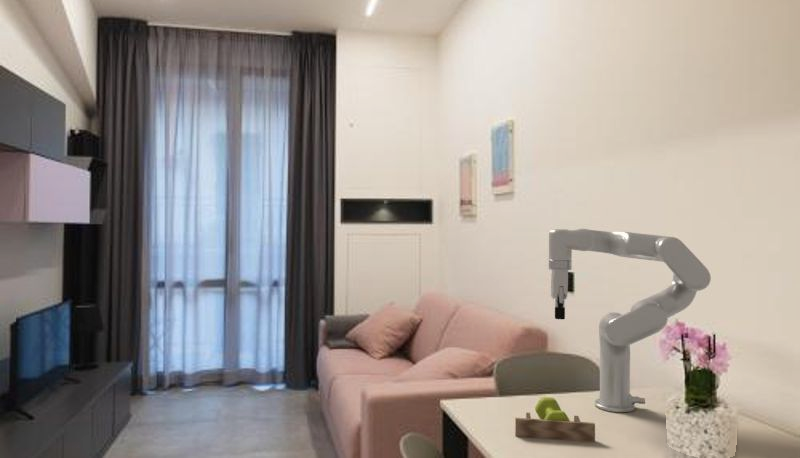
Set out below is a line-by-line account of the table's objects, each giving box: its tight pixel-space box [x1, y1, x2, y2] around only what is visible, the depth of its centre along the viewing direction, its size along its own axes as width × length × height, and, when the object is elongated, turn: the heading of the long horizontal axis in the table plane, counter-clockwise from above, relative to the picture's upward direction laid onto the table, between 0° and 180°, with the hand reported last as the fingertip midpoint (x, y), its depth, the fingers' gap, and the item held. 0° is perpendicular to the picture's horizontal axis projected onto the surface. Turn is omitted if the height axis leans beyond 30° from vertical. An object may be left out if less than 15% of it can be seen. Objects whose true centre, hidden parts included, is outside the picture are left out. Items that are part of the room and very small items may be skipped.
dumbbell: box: [534, 396, 571, 421], centre depth 173 cm, size 16×8×7 cm, turn 177°
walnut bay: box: [514, 412, 596, 443], centre depth 170 cm, size 22×11×5 cm, turn 79°
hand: (559, 318), depth 197 cm, fingers closed
